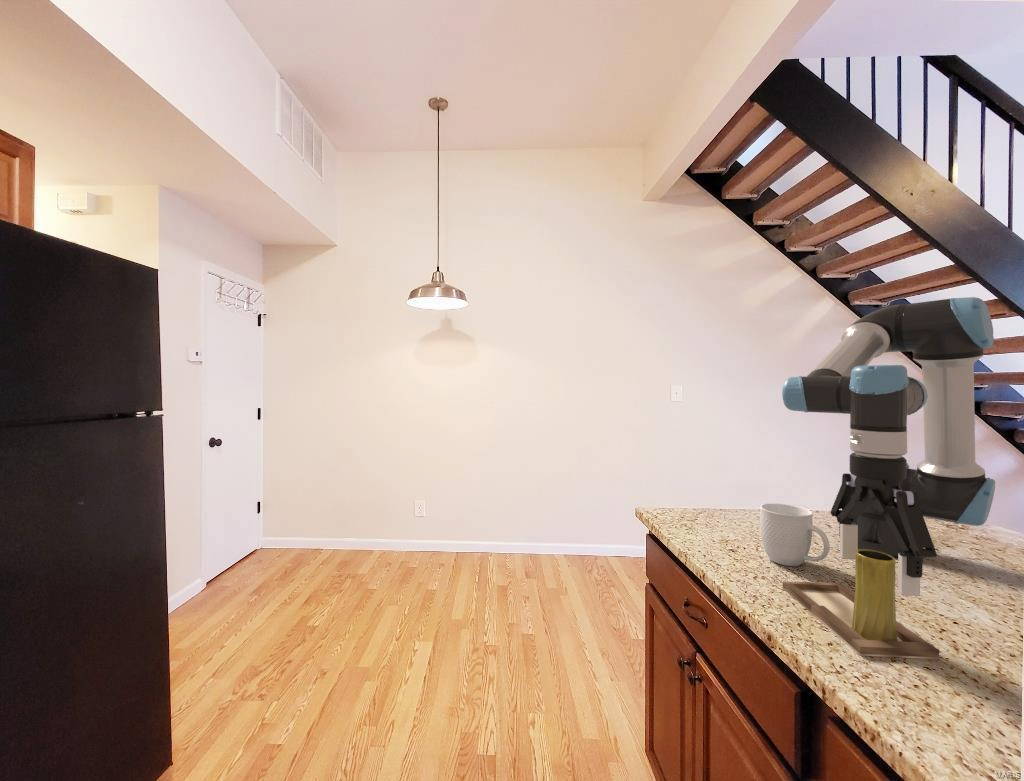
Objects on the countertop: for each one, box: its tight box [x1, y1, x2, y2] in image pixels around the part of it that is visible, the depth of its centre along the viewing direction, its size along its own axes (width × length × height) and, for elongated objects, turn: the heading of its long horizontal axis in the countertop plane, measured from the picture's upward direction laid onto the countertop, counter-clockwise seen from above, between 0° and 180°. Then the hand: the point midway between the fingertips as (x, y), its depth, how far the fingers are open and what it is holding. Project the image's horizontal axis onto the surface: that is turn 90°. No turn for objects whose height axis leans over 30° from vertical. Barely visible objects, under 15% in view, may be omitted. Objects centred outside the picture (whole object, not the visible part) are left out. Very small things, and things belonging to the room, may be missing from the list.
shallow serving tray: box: [782, 581, 940, 660], centre depth 81 cm, size 12×23×2 cm, turn 176°
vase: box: [852, 549, 897, 641], centre depth 75 cm, size 6×6×14 cm
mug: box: [759, 502, 831, 567], centre depth 105 cm, size 15×11×13 cm
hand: (875, 575), depth 75 cm, fingers open, 13 cm apart
